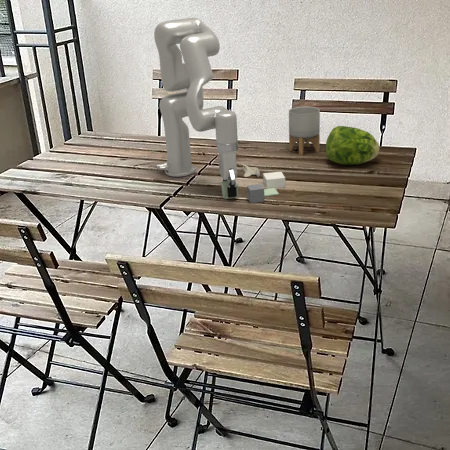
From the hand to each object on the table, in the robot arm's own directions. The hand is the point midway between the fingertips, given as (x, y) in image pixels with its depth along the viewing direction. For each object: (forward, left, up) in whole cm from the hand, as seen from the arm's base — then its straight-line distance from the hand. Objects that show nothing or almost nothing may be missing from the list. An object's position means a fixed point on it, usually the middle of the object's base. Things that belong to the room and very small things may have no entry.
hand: (230, 192), depth 228 cm
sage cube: (0, 0, -1) cm, 1 cm away
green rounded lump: (+54, +18, -1) cm, 57 cm away
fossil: (+13, +21, -2) cm, 24 cm away
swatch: (+14, -2, -1) cm, 14 cm away
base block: (+18, +5, -1) cm, 19 cm away
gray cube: (+8, -7, -1) cm, 11 cm away
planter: (+41, +40, -1) cm, 57 cm away
